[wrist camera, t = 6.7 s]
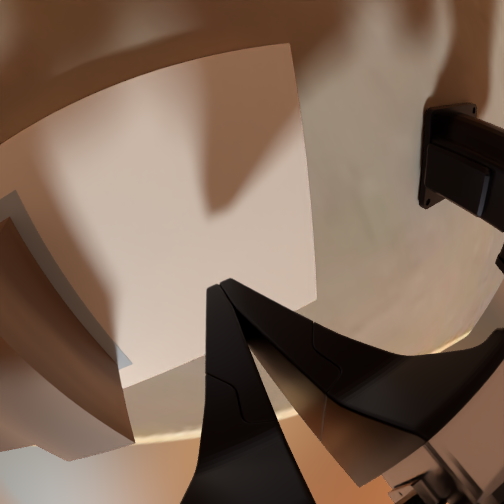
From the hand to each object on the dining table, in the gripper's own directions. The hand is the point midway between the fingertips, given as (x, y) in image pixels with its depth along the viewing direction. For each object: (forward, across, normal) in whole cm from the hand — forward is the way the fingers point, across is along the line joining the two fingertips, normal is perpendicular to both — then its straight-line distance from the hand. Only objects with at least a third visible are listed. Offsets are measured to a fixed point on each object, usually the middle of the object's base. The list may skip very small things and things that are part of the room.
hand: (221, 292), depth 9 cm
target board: (+3, +4, -1) cm, 5 cm away
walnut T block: (+2, +9, 0) cm, 9 cm away
